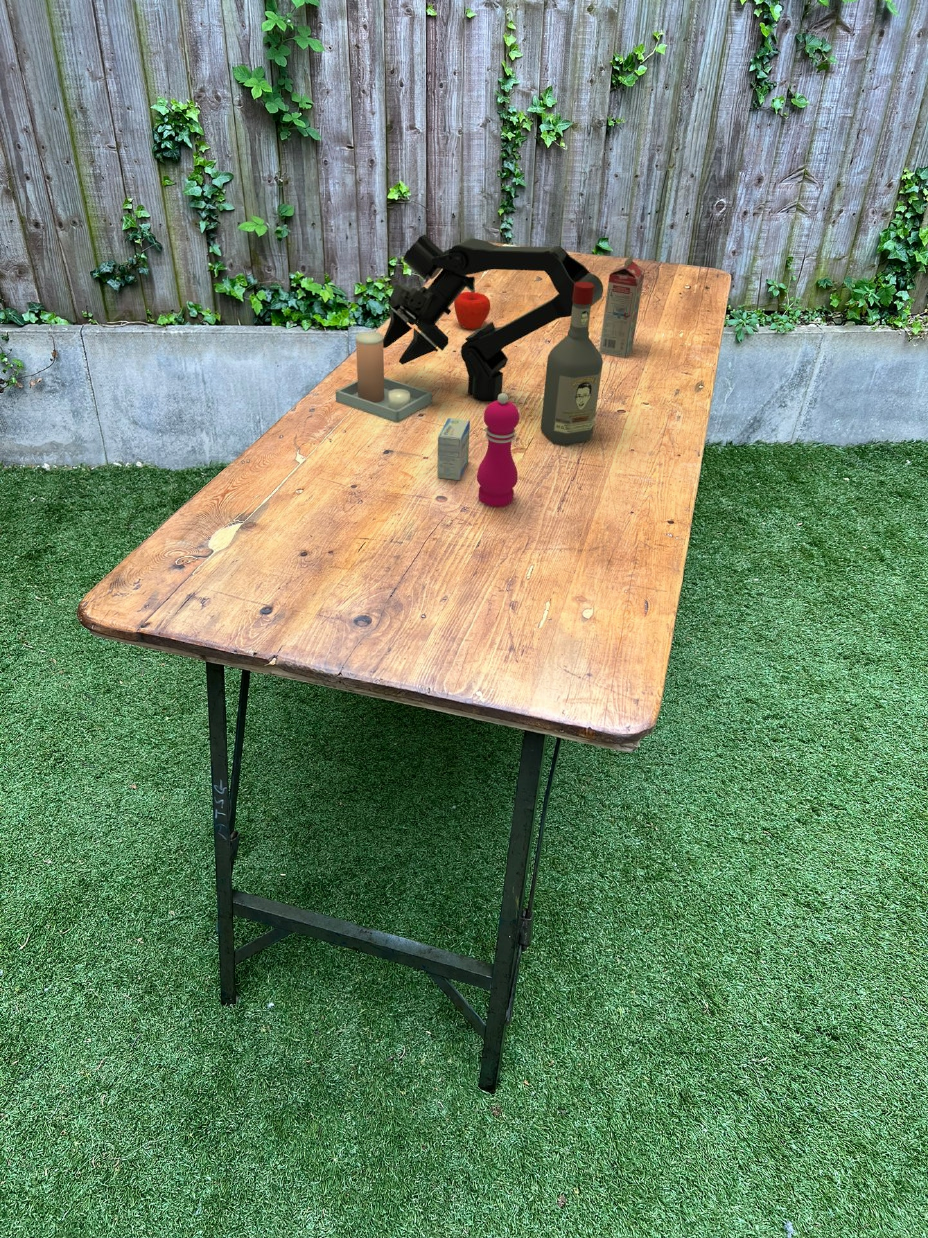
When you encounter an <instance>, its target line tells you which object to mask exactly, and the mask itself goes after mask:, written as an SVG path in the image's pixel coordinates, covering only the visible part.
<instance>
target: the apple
mask: <svg viewBox="0 0 928 1238" xmlns="http://www.w3.org/2000/svg"><path fill="white" fill-rule="evenodd" d="M453 303H454V304H453V305H454V311H455V315H456V316H455V317H456V319H457V322H458V324H459V325H460V327H462V328H464V329H466V330H471V331H472V330H478V329H480V328H481V326H482V325H483V324H484V323H485V321H486V319H487V318H488V316H489V314H490V312H491V301H490V299H489V298H488V296H486V295H485V294H482V293H479V292H475V293H472V292H471V291H466V292H465V291H464V292H463V291H462V292H461V294H460V295H459V296H458V297H457V298H456V300H455V301H454V302H453Z"/></svg>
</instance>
